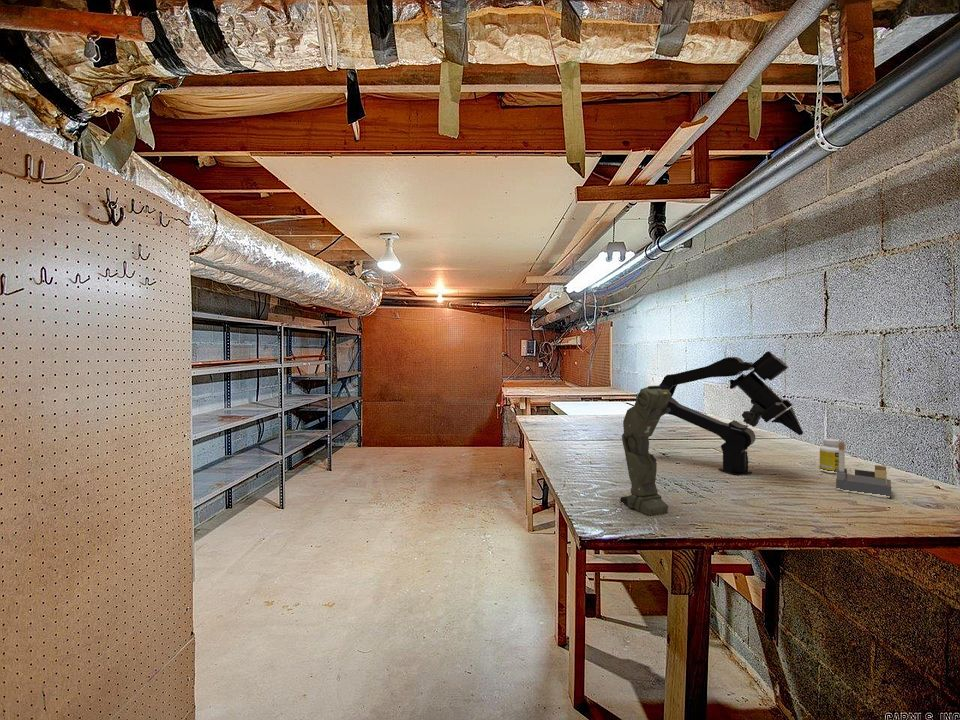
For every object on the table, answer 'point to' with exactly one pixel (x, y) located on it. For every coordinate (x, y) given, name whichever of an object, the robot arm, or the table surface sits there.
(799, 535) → the table surface
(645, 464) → the mechanical leg
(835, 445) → the supplement bottle
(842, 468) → the beige flat panel
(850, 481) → the grey tray
